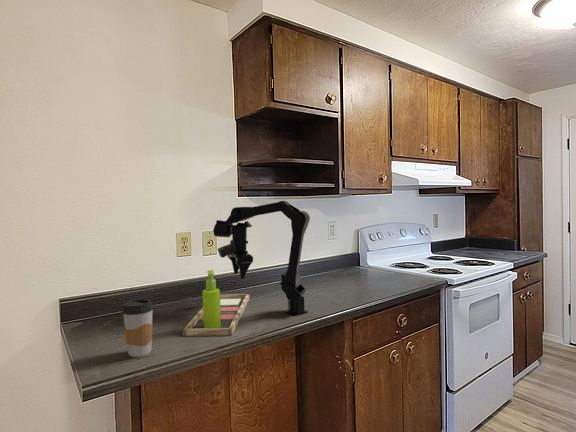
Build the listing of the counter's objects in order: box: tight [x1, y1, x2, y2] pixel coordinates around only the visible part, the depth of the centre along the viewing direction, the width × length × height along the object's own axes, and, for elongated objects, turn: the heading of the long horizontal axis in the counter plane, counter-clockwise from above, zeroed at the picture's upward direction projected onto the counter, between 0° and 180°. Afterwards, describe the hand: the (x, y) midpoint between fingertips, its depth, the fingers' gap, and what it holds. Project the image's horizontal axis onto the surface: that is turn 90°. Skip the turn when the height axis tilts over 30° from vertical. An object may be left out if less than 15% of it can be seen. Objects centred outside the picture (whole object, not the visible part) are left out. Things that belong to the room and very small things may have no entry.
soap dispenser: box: [202, 269, 222, 328], centre depth 125 cm, size 6×7×20 cm
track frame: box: [182, 293, 251, 337], centre depth 140 cm, size 44×16×2 cm, turn 179°
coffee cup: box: [121, 298, 154, 358], centre depth 105 cm, size 8×8×15 cm
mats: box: [199, 306, 240, 321], centre depth 140 cm, size 15×13×1 cm
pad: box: [220, 299, 242, 307], centre depth 156 cm, size 9×9×1 cm
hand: (238, 276), depth 146 cm, fingers open, 9 cm apart
